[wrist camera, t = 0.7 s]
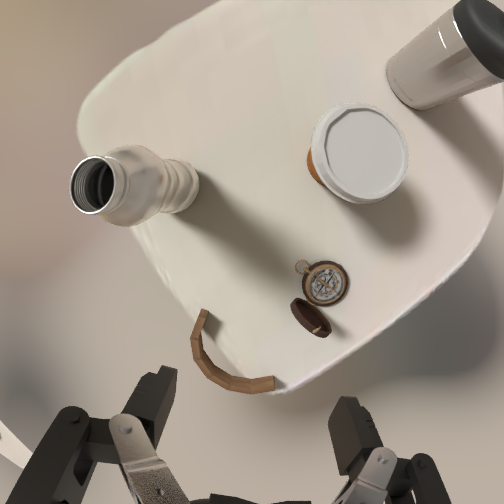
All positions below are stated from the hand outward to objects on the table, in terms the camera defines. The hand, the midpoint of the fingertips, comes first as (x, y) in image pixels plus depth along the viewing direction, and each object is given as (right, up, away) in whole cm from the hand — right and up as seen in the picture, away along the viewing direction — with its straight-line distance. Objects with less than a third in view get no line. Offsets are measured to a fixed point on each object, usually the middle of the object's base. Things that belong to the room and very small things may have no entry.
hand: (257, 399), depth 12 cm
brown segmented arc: (-4, -8, +27) cm, 29 cm away
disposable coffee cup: (+10, +18, +21) cm, 30 cm away
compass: (+8, +3, +25) cm, 26 cm away
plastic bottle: (-10, +15, +22) cm, 29 cm away
